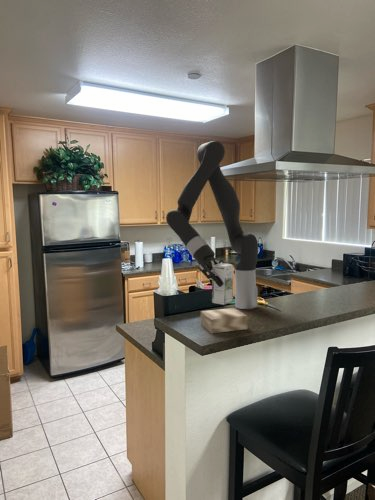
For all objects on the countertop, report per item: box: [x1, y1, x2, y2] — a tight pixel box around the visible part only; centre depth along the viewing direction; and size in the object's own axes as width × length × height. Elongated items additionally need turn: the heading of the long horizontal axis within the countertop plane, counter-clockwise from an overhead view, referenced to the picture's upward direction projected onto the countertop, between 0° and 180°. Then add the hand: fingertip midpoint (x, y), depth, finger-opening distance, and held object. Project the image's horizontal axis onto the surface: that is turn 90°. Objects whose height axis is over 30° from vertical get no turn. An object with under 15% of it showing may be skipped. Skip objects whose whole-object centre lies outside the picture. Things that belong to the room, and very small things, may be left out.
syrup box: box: [211, 262, 234, 306], centre depth 135 cm, size 6×6×14 cm
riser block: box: [200, 307, 248, 334], centre depth 136 cm, size 14×12×5 cm
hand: (226, 284), depth 134 cm, fingers closed on syrup box, 5 cm apart
